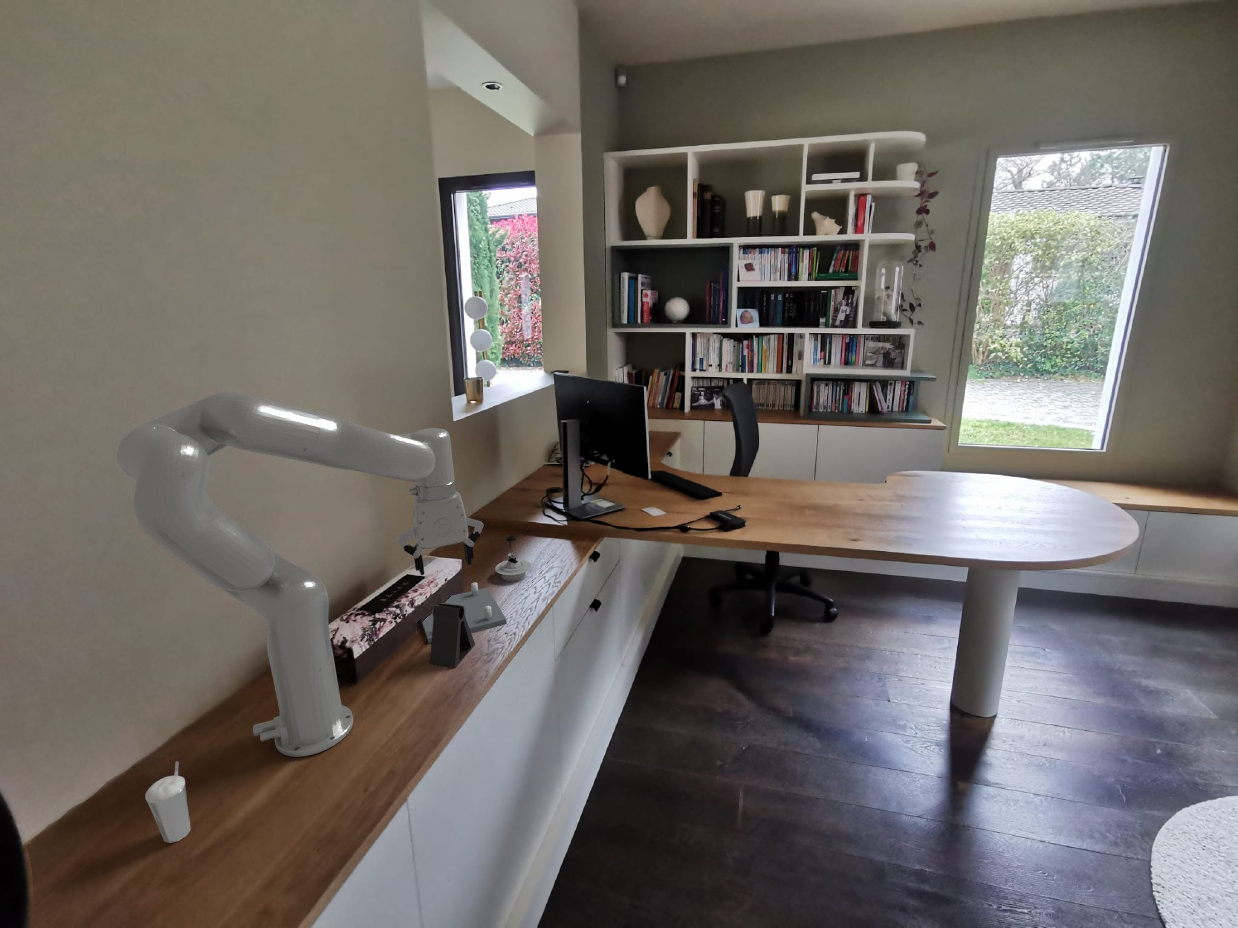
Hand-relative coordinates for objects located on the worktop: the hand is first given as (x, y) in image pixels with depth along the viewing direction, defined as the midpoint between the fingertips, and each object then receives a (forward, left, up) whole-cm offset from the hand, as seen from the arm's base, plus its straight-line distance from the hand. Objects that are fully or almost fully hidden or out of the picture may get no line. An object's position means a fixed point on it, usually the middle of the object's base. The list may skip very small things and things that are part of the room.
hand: (445, 567), depth 124 cm
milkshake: (-45, -27, -21) cm, 57 cm away
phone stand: (0, 0, -21) cm, 21 cm away
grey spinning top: (+23, +31, -21) cm, 44 cm away
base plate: (+5, +16, -21) cm, 26 cm away
